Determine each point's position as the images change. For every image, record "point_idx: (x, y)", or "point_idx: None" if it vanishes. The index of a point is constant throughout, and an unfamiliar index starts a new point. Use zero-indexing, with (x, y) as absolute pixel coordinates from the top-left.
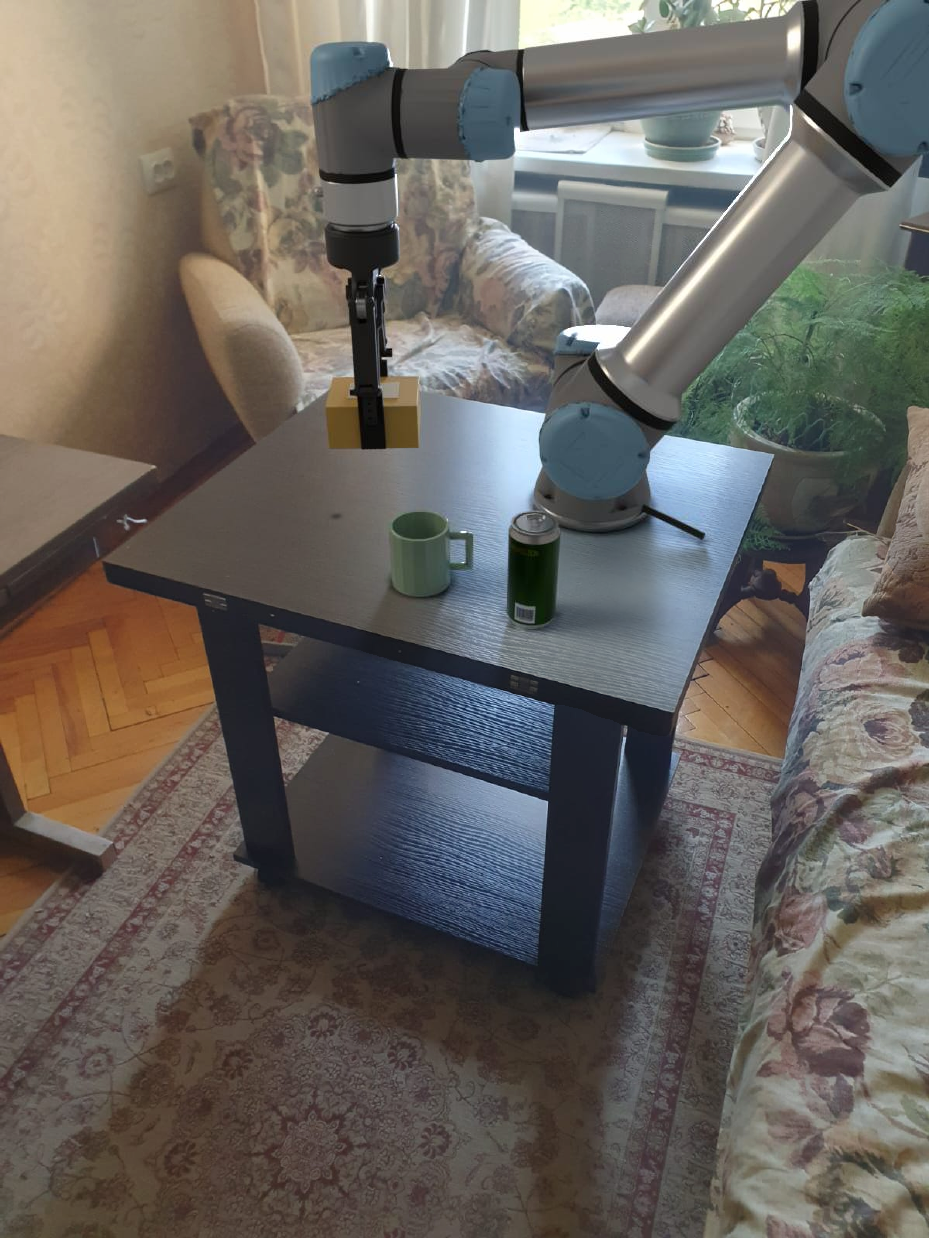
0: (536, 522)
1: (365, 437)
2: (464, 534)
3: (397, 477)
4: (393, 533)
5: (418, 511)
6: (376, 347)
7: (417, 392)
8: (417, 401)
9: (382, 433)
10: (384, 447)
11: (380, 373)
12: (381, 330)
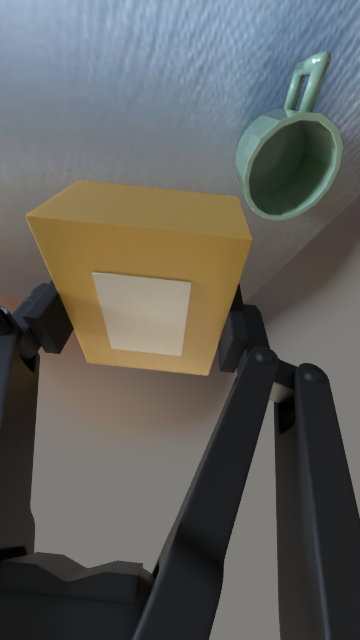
0: None
1: None
2: (323, 75)
3: (29, 175)
4: (296, 215)
5: (249, 172)
6: (327, 514)
7: (153, 230)
8: (213, 233)
9: None
10: None
11: (59, 309)
12: (4, 417)
